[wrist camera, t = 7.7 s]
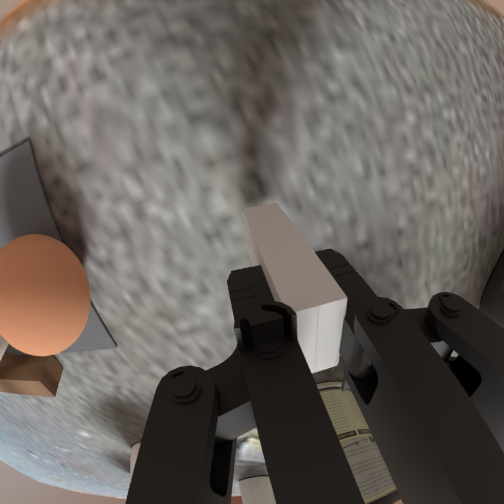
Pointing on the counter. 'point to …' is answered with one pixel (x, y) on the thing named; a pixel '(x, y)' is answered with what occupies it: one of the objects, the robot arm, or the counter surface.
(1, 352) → the pin
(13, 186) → the pin deck mark
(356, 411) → the coffee can
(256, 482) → the paper towel roll
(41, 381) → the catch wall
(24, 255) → the ball
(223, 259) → the counter surface
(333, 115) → the counter surface
